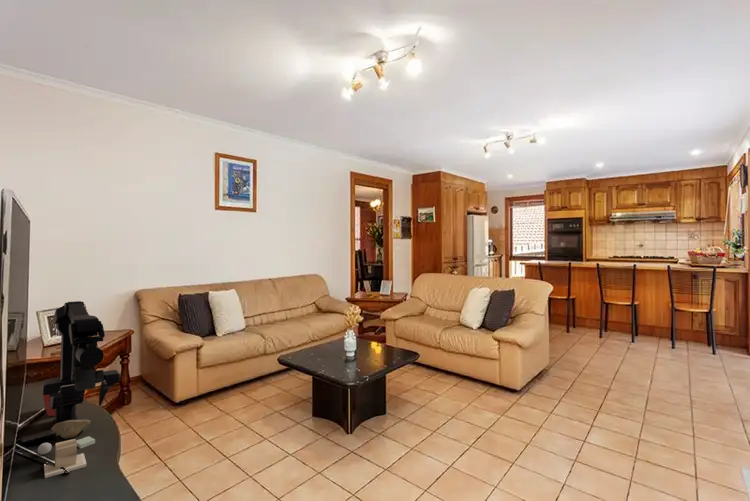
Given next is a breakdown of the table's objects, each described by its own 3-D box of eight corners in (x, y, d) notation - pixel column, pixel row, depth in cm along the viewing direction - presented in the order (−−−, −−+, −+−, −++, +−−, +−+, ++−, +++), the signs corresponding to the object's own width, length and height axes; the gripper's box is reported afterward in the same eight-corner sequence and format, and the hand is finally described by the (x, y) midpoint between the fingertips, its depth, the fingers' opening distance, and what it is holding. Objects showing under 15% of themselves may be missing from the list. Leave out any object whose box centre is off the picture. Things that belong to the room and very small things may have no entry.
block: (54, 462, 109) (55, 443, 109) (74, 457, 112) (75, 438, 112) (55, 469, 105) (56, 450, 105) (76, 464, 108) (76, 445, 108)
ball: (37, 453, 114) (37, 442, 114) (51, 449, 116) (51, 439, 116) (37, 457, 112) (37, 447, 112) (51, 454, 114) (52, 443, 114)
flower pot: (39, 410, 141) (40, 384, 141) (76, 403, 149) (77, 378, 149) (42, 421, 134) (43, 393, 134) (81, 412, 141) (82, 386, 141)
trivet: (43, 466, 108) (44, 463, 108) (83, 455, 114) (83, 452, 114) (44, 478, 103) (45, 474, 103) (86, 466, 109) (86, 463, 109)
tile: (74, 446, 120) (74, 441, 120) (88, 440, 123) (88, 436, 123) (80, 449, 118) (80, 445, 118) (95, 444, 121) (95, 439, 121)
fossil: (94, 416, 127) (57, 419, 120) (94, 429, 124) (55, 433, 117) (84, 428, 130) (47, 431, 123) (83, 441, 128) (45, 445, 121)
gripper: (45, 371, 105) (42, 427, 105) (124, 360, 118) (122, 410, 118) (43, 361, 113) (41, 413, 113) (118, 352, 126) (115, 398, 126)
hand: (81, 409), depth 117 cm, fingers open, 9 cm apart
